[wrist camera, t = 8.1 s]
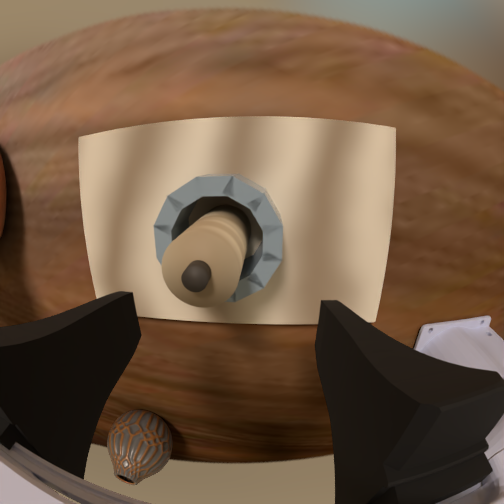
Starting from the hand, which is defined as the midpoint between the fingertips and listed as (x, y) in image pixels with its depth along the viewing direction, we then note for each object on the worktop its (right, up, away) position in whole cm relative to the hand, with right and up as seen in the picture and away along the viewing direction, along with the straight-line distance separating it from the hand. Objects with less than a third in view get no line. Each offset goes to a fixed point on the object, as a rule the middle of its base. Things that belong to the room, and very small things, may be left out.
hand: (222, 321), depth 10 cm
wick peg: (-1, +4, +8) cm, 9 cm away
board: (-1, +4, +8) cm, 10 cm away
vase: (-10, -16, +16) cm, 25 cm away
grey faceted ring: (-1, +4, +8) cm, 9 cm away
